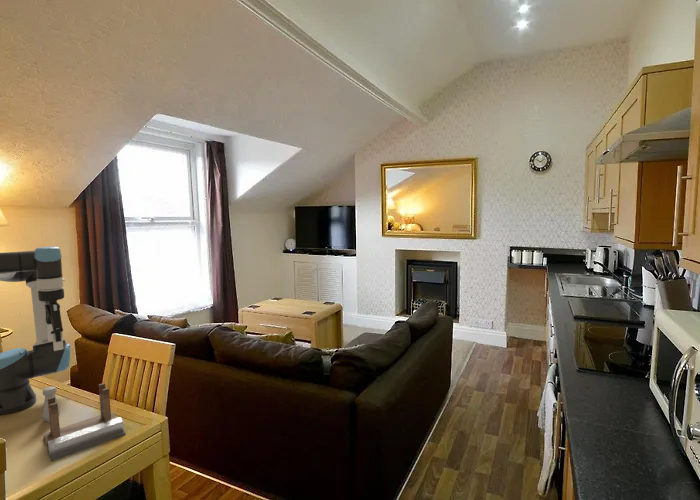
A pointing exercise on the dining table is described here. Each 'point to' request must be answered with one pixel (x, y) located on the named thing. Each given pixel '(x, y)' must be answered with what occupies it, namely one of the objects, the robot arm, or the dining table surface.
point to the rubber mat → (87, 445)
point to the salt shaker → (47, 393)
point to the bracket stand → (105, 416)
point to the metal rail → (84, 436)
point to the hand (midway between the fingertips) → (55, 345)
